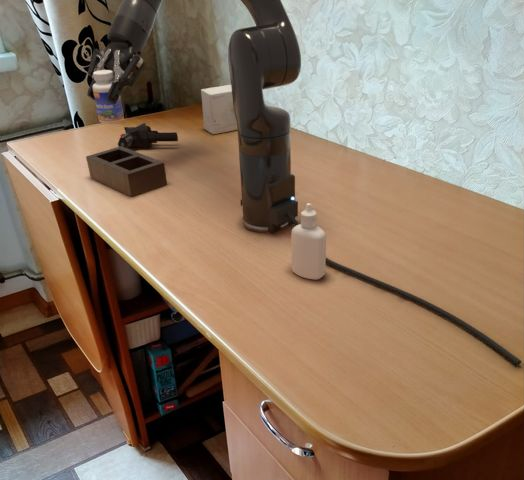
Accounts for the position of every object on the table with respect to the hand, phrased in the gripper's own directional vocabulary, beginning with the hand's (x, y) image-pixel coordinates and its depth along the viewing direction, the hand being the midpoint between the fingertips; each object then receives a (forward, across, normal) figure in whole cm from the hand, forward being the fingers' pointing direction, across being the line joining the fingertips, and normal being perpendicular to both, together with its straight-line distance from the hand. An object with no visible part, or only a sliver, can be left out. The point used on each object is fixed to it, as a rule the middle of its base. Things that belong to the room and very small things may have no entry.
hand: (101, 99), depth 120 cm
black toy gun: (-3, -10, +28) cm, 30 cm away
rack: (+12, +3, +13) cm, 18 cm away
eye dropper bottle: (+21, +60, +4) cm, 63 cm away
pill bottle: (+2, 0, +5) cm, 5 cm away
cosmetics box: (-17, -3, +43) cm, 46 cm away
